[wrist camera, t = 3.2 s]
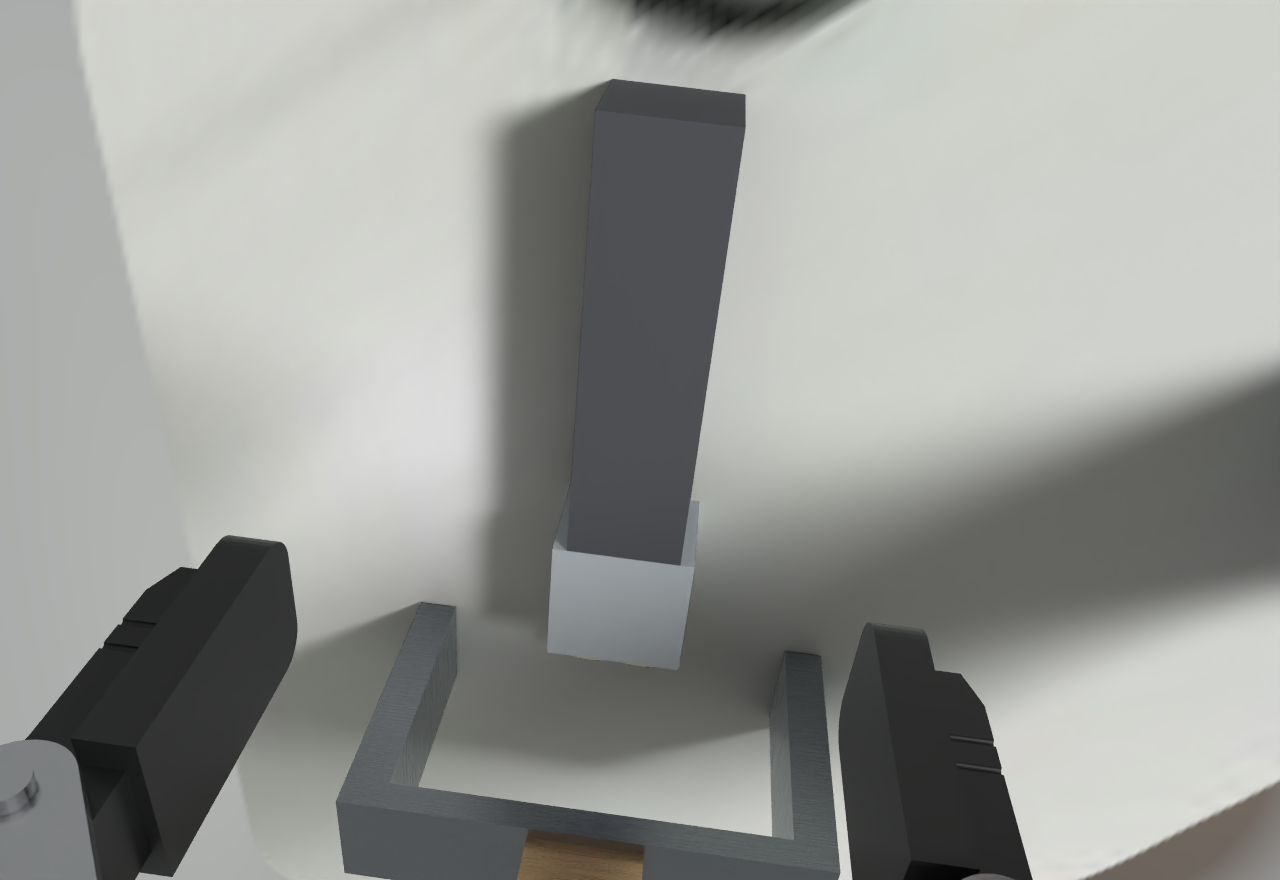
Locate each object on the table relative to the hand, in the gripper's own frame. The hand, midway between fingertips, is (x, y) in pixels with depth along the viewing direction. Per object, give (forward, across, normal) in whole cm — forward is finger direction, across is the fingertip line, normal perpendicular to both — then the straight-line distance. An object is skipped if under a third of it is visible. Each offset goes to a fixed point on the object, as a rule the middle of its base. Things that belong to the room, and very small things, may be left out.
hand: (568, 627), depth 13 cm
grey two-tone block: (+20, 0, +7) cm, 21 cm away
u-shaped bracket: (+20, 0, +21) cm, 29 cm away
